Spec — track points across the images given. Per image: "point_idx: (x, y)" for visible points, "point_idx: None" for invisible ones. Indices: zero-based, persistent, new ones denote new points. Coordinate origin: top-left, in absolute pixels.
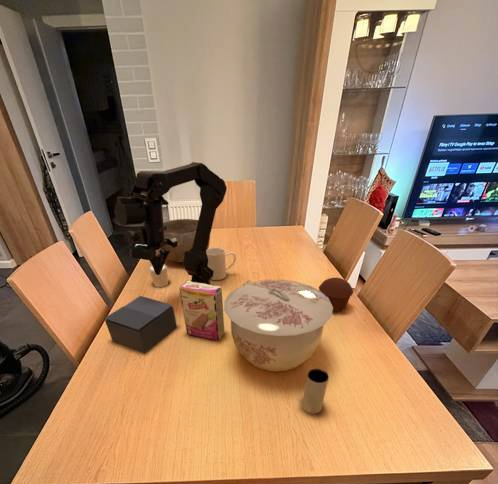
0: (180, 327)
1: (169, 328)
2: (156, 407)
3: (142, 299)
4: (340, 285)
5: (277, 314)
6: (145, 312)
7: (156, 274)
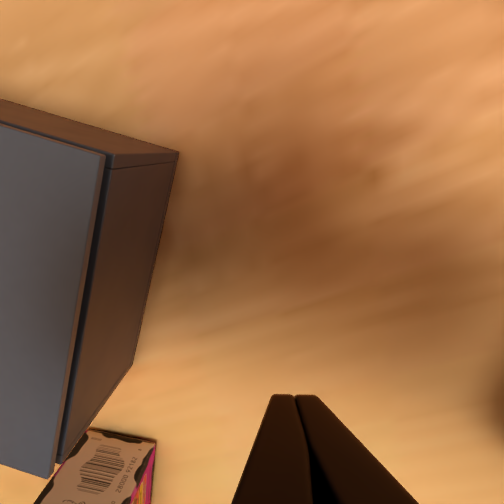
0: (136, 381)
1: None
2: None
3: (42, 214)
4: None
5: None
6: None
7: (269, 402)
